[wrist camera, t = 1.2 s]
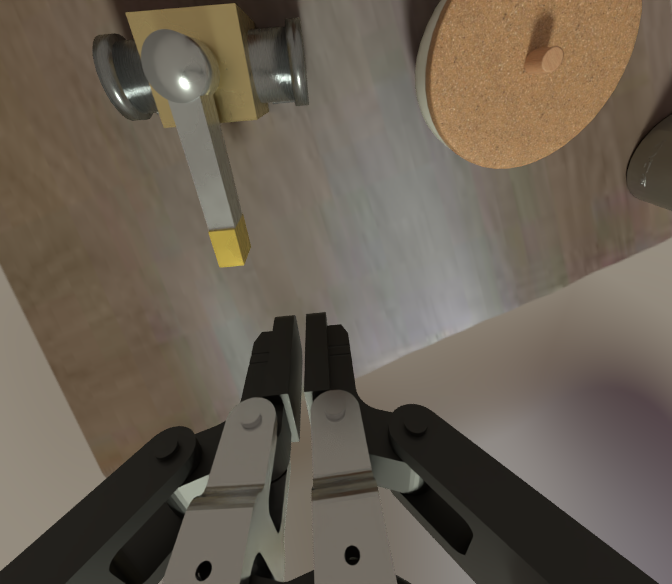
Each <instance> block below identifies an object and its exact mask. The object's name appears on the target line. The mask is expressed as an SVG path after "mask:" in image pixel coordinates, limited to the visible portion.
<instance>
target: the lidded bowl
mask: <svg viewBox="0 0 672 584" xmlns="http://www.w3.org/2000/svg"><path fill="white" fill-rule="evenodd" d="M641 12H642V0H440V2H439V3H438V5H437V6H436V8H435V10H434V12H433V14H432V16H431V18H430V20H429V22H428V24H427V26H426V29H425V31H424V34H423V37H422V40H421V42H420V46H419V50H418V55H417V59H416V68H415V89H416V95H417V101H418V104H419V107H420V111H421V113H422V116H423V118H424V120H425V122H426V124H427V126H428V127H429V128H430V130H431V131H432V132H433V134H434V135H435V136H436V137H437V138H438V139H439V140H440V141H441V142H442V143H443V144H444V145H445V146H447V147H448V148H450V149H451V150H452V151H454V152H455V153H456V154H457V155H459V156H460V157H462V158H464V159H465V160H467V161H469V162H471V163H474V164H477V165H479V166H482V167H488V168H494V169H502V168H513V167H519V166H523V165H526V164H529V163H532V162H535V161H537V160H539V159H542V158H544V157H546V156H548V155H550V154H551V153H553V152H554V151H556V150H558V149H559V148H561V147H562V146H564V145H565V144H566V143H567V142H569V141H570V140H571V139H572V138H574V137H575V136H576V135H577V134H578V133H579V132H580V131H581V130H582V129H583V128H584V127H586V126H587V125H588V124H589V123H590V122H591V121H592V119H593V118H594V117H595V116H596V114H597V113H598V112H599V111H600V109H601V108H602V107H603V106H604V104H605V103H606V101H607V100H608V98H609V97H610V95H611V94H612V92H613V91H614V90H615V88H616V86H617V84H618V82H619V80H620V78H621V76H622V74H623V72H624V70H625V68H626V65H627V63H628V61H629V58H630V56H631V54H632V51H633V47H634V44H635V40H636V37H637V33H638V28H639V23H640V17H641Z"/></svg>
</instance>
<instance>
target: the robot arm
mask: <svg viewBox="0 0 672 584" xmlns="http://www.w3.org/2000/svg"><path fill="white" fill-rule="evenodd" d="M627 186H628V189H629V191H630V193H631V194H632V195H633V196H634V197H636V198H638V199H640V200H643V201H645V202H648V203H651V204H654V205H657V206H659V207H662V208H665V209H668V210H671V211H672V114H671V115H670V116H668V117H667V118H665V119H664V120H662V121H661V122H660V123H659V124H658V125H657V126H656V127H654V128H653V129H652V130H651V131H650V132H649V134H648V135H647V136H646V137H645V138H644V139H643V140H642V142H641V143H640V145H639V146H638V148H637V149H636V151H635V153H634V155H633V157H632V159H631V161H630V164H629V167H628V170H627ZM301 386H302V348H301V342H300V336H299V331H298V325H297V320H296V316H295V315H292V316H281V317H275V320H274V326H273V331H269V332H262V333H261V334H260V335H259V337H258V338H257V339H256V341H255V342H254V345H253V349H252V356H251V358H250V365H249V367H248V372H247V376H246V380H245V385H244V389H243V394H242V398H241V402H240V403H239V404H238V405H236V406H235V407H234V408H233V409H232V410H231V412H230V413H229V415H228V417H227V419H226V421H224V422H223V423H221V424H219V425H217V426H215V427H212V428H210V429H207V430H205V431H202V432H199V433H197V434H194V433H193V431H192V430H191V429H189V428H187V427H183V426H177V427H172V428H169V429H166V430H164V431H162V432H160V433H159V434H157V435H156V436H155V437H153V438H152V439H151V440H150V441H149V442H148V443H147V444H145V445H144V446H143V447H142V448H141V449H140V450H139V451H137V452H136V453H135V454H134V455H133V456H132V457H131V458H129V459H128V460H127V461H126V462H125V463H124V464H123V465H121V466H120V467H119V468H118V469H117V470H116V471H115V472H113V473H112V474H111V475H110V476H109V477H108V478H106V479H105V480H104V481H103V482H102V483H101V484H100V485H99V486H97V487H96V488H95V489H94V490H93V491H92V492H90V493H89V494H88V495H87V496H86V497H85V498H84V499H83V500H81V501H80V502H79V503H78V504H77V505H76V506H75V507H73V508H72V509H71V510H70V511H69V512H68V513H67V514H65V515H64V516H63V517H62V518H61V519H60V520H58V521H57V522H56V523H55V524H54V525H53V526H52V527H50V528H49V529H48V530H47V531H46V532H45V533H44V534H42V535H41V536H40V537H39V538H38V539H37V540H36V541H35V542H33V543H32V544H31V545H30V546H29V547H28V548H26V549H25V550H24V551H23V552H22V553H21V554H20V555H18V556H17V557H16V558H15V559H14V560H13V561H12V562H10V563H9V564H8V565H7V566H6V567H5V568H4V569H3V570H1V571H0V584H158V583H159V582H160V581H161V579H162V578H163V577H164V579H163V582H162V584H411V583H409V582H408V581H406V580H404V579H403V578H401V577H399V576H397V575H395V570H394V565H393V560H392V556H391V550H390V546H389V540H388V535H387V531H386V525H385V521H384V516H383V512H382V506H381V501H380V496H379V492H378V487H377V486H379V487H383V488H387V489H390V490H391V492H392V493H393V495H394V496H395V497H396V498H397V499H398V500H399V501H400V502H401V503H402V504H403V506H404V507H405V508H406V509H407V510H408V511H409V512H410V513H411V514H412V515H413V516H414V517H415V518H416V519H417V521H419V523H420V524H421V525H422V526H423V527H424V528H425V529H426V530H427V531H428V532H429V533H430V535H432V537H433V538H435V540H436V541H437V542H438V543H439V544H440V545H441V546H442V547H443V548H444V550H445V551H446V552H447V553H448V554H449V555H450V556H451V557H452V558H453V559H454V560H455V561H456V562H457V564H458V565H459V566H460V567H461V568H462V569H463V570H464V571H465V572H466V573H467V574H468V575H469V576H470V577H471V578H472V580H473V581H474V582H475V583H476V584H659V583H657V582H656V581H654V580H653V579H652V578H651V577H649V576H648V575H647V574H645V573H644V572H643V571H641V570H640V569H639V568H638V567H636V566H635V565H634V564H632V563H631V562H630V561H628V560H627V559H626V558H624V557H623V556H622V555H620V554H619V553H618V552H616V551H615V550H614V549H612V548H611V547H610V546H609V545H607V544H606V543H605V542H603V541H602V540H601V539H599V538H598V537H597V536H595V535H594V534H593V533H591V532H590V531H589V530H588V529H586V528H585V527H584V526H582V525H581V524H580V523H578V522H577V521H576V520H574V519H573V518H572V517H571V516H569V515H568V514H567V513H565V512H564V511H562V510H561V509H560V508H559V507H557V506H556V505H555V504H553V503H552V502H551V501H549V500H548V499H547V498H546V497H544V496H543V495H542V494H540V493H539V492H538V491H536V490H535V489H534V488H532V487H531V486H530V485H528V484H527V483H526V482H524V481H523V480H522V479H521V478H519V477H518V476H516V475H515V474H514V473H513V472H511V471H510V470H509V469H507V468H506V467H505V466H503V465H502V464H501V463H499V462H498V461H497V460H496V459H494V458H493V457H491V456H490V455H489V454H488V453H486V452H485V451H484V450H482V449H481V448H480V447H478V446H477V445H476V444H474V443H473V442H472V441H471V440H469V439H468V438H467V437H465V436H464V435H463V434H461V433H460V432H459V431H457V430H456V429H455V428H453V427H452V426H451V425H449V424H448V423H447V422H445V421H444V420H443V419H442V418H440V417H439V416H438V415H436V414H435V413H434V412H432V411H431V410H429V409H428V408H426V407H424V406H421V405H416V404H407V405H403V406H400V407H398V408H397V409H396V410H394V412H388V411H383V410H378V409H375V408H372V407H370V406H368V405H367V404H365V403H364V402H363V401H362V400H361V399H360V397H359V396H358V394H357V392H356V387H355V380H354V373H353V366H352V358H351V351H350V345H349V337H348V333H347V331H346V330H345V329H344V328H343V326H342V325H341V324H340V325H330V326H327V318H326V312H322V313H312V314H306V341H305V378H304V394H305V399H306V404H307V409H308V414H309V419H310V424H311V440H312V463H313V487H312V527H313V552H314V553H313V554H314V570H313V571H311V572H309V573H306V574H304V575H302V576H300V577H297V578H295V579H293V580H291V581H288V582H284V573H285V548H284V530H285V520H286V510H287V499H288V489H289V480H290V470H291V464H290V451H291V442H298V441H300V414H301Z"/></svg>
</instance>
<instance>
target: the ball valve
mask: <svg viewBox="0 0 672 584" xmlns="http://www.w3.org/2000/svg"><path fill="white" fill-rule="evenodd" d="M126 16H127V19H128V22H129V25H130V28H131V31H132V34H133V37H134V40H126V39H125V38H124V37H122V36H121V35H119V34H103V35H98V36H96V37H95V39H94V41H93V59H94V64H95V68H96V71H97V74H98V77H99V79H100V82H101V84H102V86H103V88H104V90H105V92H106V94H107V96H108V98H109V99H110V101H111V102H112V104H113V105H114V106H115V108H116V109H117V110H118V111H119V112H120V113H121V114H122V115H123V116H124V117H125V118H127V119H129V120H132V121H136V120H147V119H150V118H151V116H152V114H153V113H157V114H159V115H160V118H161V121H162V123H163V126H164V128H169V127H176V125H175V121H174V118H173V115H172V112H171V109H170V106H169V102H168V100H167V99H165V98H164V97H162V96H161V95H160V94H159V93H157V92H156V91H155V90H154V89H153V87H152V86H151V85H150V83H149V82H148V80H147V78H146V76H145V74H144V71H143V68H142V63H141V50H142V46H143V43H144V41H145V39H146V38H147V37H148V36H149V35H150V34H151V33H152V32H154V31H156V30H160V29H169V30H173V31H176V32H179V33H181V34H184V35H187V36H189V37H192V38H195V39H197V40H199V41H201V42H202V43H204V44H205V45H206V46H207V47H208V48H209V49H210V50H211V51H212V53H213V54H214V56H215V58H216V60H217V62H218V65H219V70H220V83H219V87H218V89H217V91H216V92H215V94H214V95H213V97H214V101H215V105H216V109H217V113H218V117H219V121H220V123H225V122H236V121H247V120H257V119H259V118H260V117H262V116H263V115H265V114H266V113H268V112H269V108H268V103H269V102H273V104H279V103H290V102H295V104H296V106H303V105H309V97H308V87H307V76H306V67H305V57H304V48H303V39H302V30H301V22H300V18H288V19H285V27H273V28H262V29H255V24H254V22H253V21H252V20H251V19H250V18H249V17H248V16H247V15H246V14H245V13H244V12H243V11H242V10H241V9H240V7H239V6H238V5H237V4H236V3H231V4H219V5H207V6H196V7H184V8H172V9H161V10H149V11H137V12H126Z"/></svg>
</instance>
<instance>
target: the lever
mask: <svg viewBox="0 0 672 584" xmlns="http://www.w3.org/2000/svg"><path fill="white" fill-rule="evenodd" d="M141 63H142V68H143V71H144V74H145V76H146V78H147V80H148V82H149V83H150V85H151V86H152V87H153V89H154V90H155V91H156V92H157V93H159V94H160V95H161V96H162V97H164V98H165V99H167V100H168V102H169V106H170V109H171V112H172V115H173V118H174V121H175V125H176V128H177V131H178V134H179V137H180V140H181V143H182V147H183V150H184V153H185V156H186V159H187V162H188V166H189V169H190V172H191V175H192V178H193V181H194V185H195V188H196V191H197V194H198V197H199V200H200V204H201V207H202V210H203V213H204V216H205V219H206V222H207V226H208V229H209V236H210V239H211V242H212V245H213V248H214V251H215V254H216V258H217V261H218V264H219V267H230V266H241V265H244V264H245V261H246V259H247V256H248V253H249V251H250V248H251V245H250V240H249V236H248V232H247V228H246V224H245V220H244V216H243V214H242V211H241V207H240V203H239V199H238V194H237V190H236V186H235V182H234V178H233V174H232V170H231V166H230V162H229V158H228V154H227V150H226V146H225V142H224V138H223V134H222V130H221V125H220V121H219V117H218V113H217V109H216V105H215V101H214V97H213V95H214V94H215V92H216V91H217V89H218V87H219V83H220V70H219V65H218V62H217V60H216V58H215V56H214V54H213V53H212V51H211V50H210V49H209V48H208V47H207V46H206V45H205V44H204V43H202V42H201V41H199V40H197V39H195V38H192V37H189V36H187V35H184V34H181V33H179V32H176V31H173V30H169V29H160V30H156V31H154V32H152V33H151V34H150V35H149V36H148V37H147V38H146V39H145V41H144V43H143V46H142V50H141Z"/></svg>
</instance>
